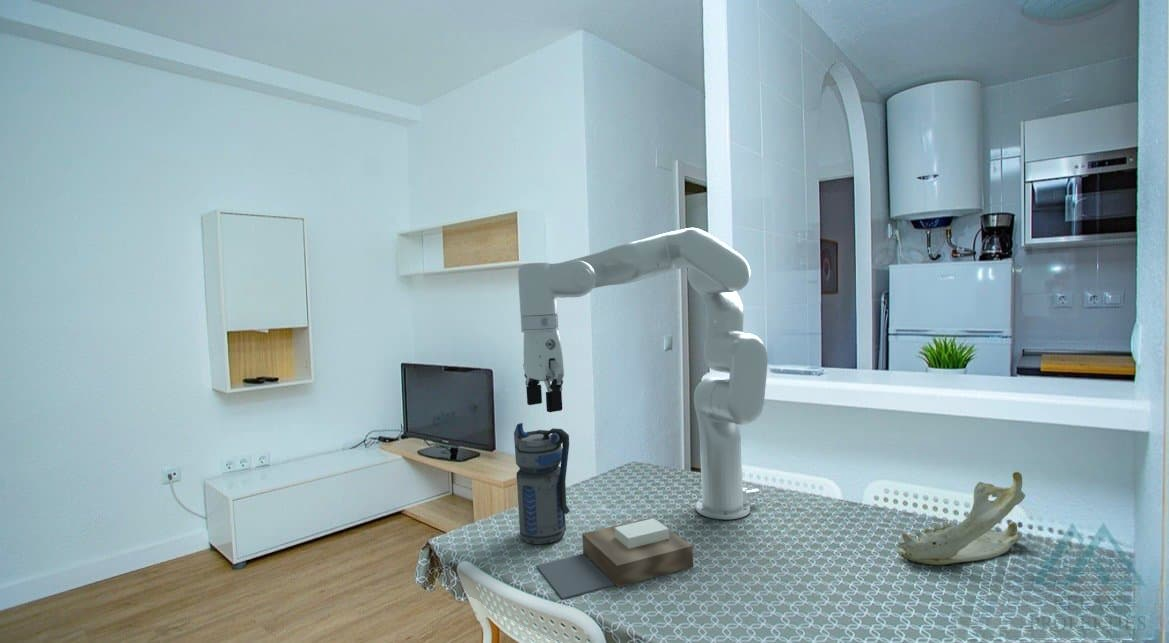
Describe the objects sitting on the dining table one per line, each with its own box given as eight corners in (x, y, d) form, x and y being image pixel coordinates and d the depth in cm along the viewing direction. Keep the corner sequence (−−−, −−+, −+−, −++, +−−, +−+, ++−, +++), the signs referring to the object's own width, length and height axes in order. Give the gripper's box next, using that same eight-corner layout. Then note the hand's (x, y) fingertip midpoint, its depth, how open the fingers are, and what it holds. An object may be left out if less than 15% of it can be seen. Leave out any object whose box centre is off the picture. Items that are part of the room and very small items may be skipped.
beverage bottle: (562, 551, 119) (555, 432, 118) (508, 542, 125) (501, 428, 124) (583, 532, 128) (577, 421, 127) (533, 524, 134) (526, 418, 133)
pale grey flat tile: (653, 527, 119) (653, 518, 119) (669, 538, 114) (668, 528, 114) (614, 537, 116) (614, 527, 115) (628, 548, 110) (628, 538, 110)
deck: (650, 535, 125) (650, 517, 124) (693, 566, 110) (692, 545, 110) (583, 552, 118) (582, 533, 118) (618, 587, 104) (617, 565, 103)
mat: (583, 555, 117) (583, 553, 117) (613, 585, 104) (613, 583, 104) (536, 566, 113) (536, 565, 113) (562, 599, 100) (562, 597, 100)
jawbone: (911, 533, 100) (881, 492, 109) (909, 600, 109) (881, 557, 117) (1056, 501, 99) (1013, 462, 108) (1043, 571, 107) (1004, 530, 116)
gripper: (575, 323, 111) (580, 411, 112) (539, 322, 126) (543, 399, 127) (540, 326, 108) (545, 417, 108) (506, 324, 123) (511, 404, 124)
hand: (544, 407), depth 118 cm, fingers open, 9 cm apart
